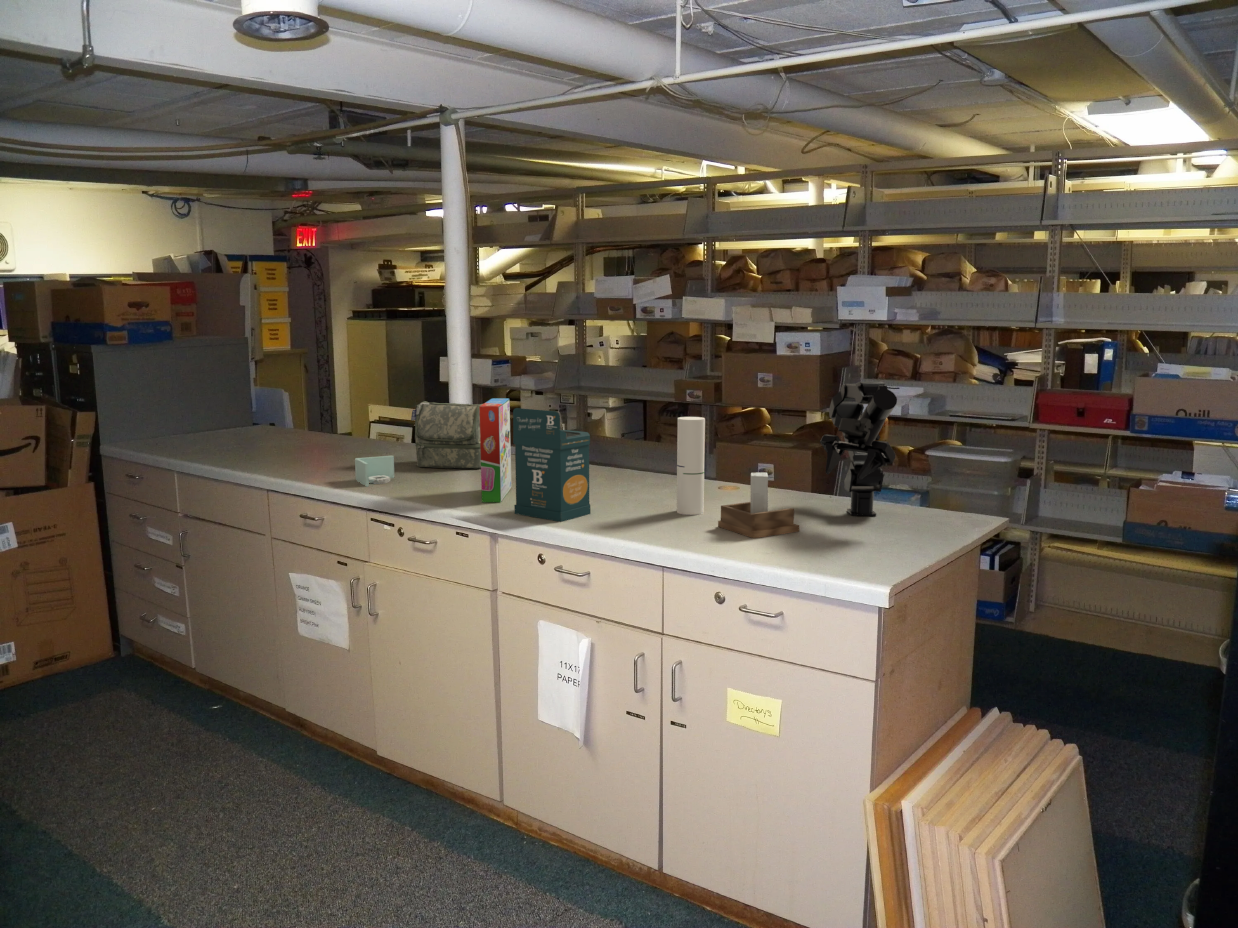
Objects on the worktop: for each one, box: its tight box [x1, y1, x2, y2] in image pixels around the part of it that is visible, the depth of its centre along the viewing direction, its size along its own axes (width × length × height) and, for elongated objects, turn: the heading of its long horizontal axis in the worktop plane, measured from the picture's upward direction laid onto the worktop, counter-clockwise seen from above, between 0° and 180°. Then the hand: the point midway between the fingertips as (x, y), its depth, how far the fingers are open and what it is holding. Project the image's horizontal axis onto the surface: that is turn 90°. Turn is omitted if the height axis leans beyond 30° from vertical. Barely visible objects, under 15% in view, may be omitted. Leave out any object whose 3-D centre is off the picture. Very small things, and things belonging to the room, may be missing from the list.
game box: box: [479, 397, 512, 504], centre depth 270 cm, size 21×6×27 cm, turn 178°
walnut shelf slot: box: [717, 501, 801, 539], centre depth 230 cm, size 14×14×6 cm
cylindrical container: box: [676, 416, 706, 516], centre depth 248 cm, size 7×7×25 cm
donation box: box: [512, 407, 591, 523], centre depth 247 cm, size 16×16×28 cm
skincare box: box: [750, 471, 769, 513], centre depth 230 cm, size 6×4×12 cm
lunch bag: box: [410, 400, 483, 470], centre depth 323 cm, size 26×18×22 cm
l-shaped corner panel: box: [354, 455, 395, 487], centre depth 293 cm, size 12×12×8 cm
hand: (842, 475), depth 230 cm, fingers open, 9 cm apart
